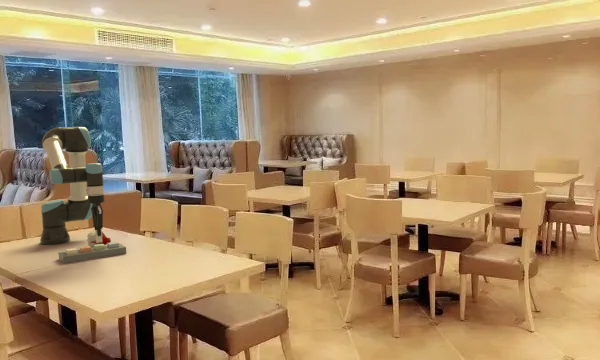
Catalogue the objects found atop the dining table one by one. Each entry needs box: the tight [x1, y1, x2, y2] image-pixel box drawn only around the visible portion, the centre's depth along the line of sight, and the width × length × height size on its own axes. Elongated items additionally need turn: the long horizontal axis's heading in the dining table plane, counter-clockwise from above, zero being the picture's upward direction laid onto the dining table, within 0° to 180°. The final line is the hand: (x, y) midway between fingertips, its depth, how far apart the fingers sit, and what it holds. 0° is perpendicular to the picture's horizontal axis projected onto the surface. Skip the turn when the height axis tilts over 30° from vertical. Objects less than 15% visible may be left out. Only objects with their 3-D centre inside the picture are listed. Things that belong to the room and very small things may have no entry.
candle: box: [87, 229, 112, 248], centre depth 269 cm, size 9×11×15 cm
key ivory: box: [64, 247, 78, 255], centre depth 244 cm, size 4×4×3 cm
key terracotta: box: [79, 245, 92, 253], centre depth 247 cm, size 4×4×3 cm
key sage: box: [94, 244, 106, 251], centre depth 251 cm, size 4×4×3 cm
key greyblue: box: [106, 241, 119, 248], centre depth 255 cm, size 4×4×3 cm
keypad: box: [58, 242, 127, 264], centre depth 249 cm, size 11×29×3 cm, turn 126°
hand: (99, 242), depth 251 cm, fingers closed
